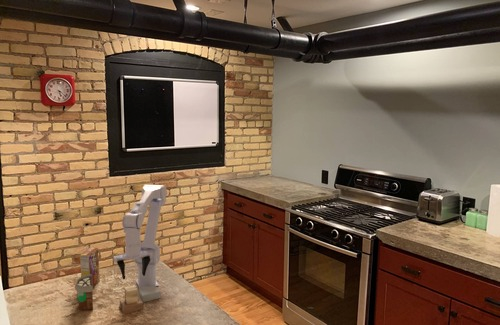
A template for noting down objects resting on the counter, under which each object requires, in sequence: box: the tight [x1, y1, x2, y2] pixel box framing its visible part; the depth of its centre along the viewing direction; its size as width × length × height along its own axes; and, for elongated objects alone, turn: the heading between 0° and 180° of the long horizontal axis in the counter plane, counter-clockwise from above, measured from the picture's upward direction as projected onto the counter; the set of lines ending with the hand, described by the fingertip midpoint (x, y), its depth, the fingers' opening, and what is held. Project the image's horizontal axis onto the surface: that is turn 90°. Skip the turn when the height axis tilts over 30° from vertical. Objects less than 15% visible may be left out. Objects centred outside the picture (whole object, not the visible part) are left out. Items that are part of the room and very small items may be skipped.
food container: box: [74, 274, 94, 312], centre depth 144 cm, size 12×6×10 cm, turn 23°
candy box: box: [79, 247, 101, 289], centre depth 162 cm, size 9×4×15 cm, turn 177°
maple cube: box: [124, 285, 139, 304], centre depth 144 cm, size 4×4×5 cm
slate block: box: [137, 285, 161, 303], centre depth 153 cm, size 7×7×3 cm
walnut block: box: [119, 295, 144, 314], centre depth 144 cm, size 7×7×3 cm
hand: (133, 276), depth 149 cm, fingers open, 7 cm apart
